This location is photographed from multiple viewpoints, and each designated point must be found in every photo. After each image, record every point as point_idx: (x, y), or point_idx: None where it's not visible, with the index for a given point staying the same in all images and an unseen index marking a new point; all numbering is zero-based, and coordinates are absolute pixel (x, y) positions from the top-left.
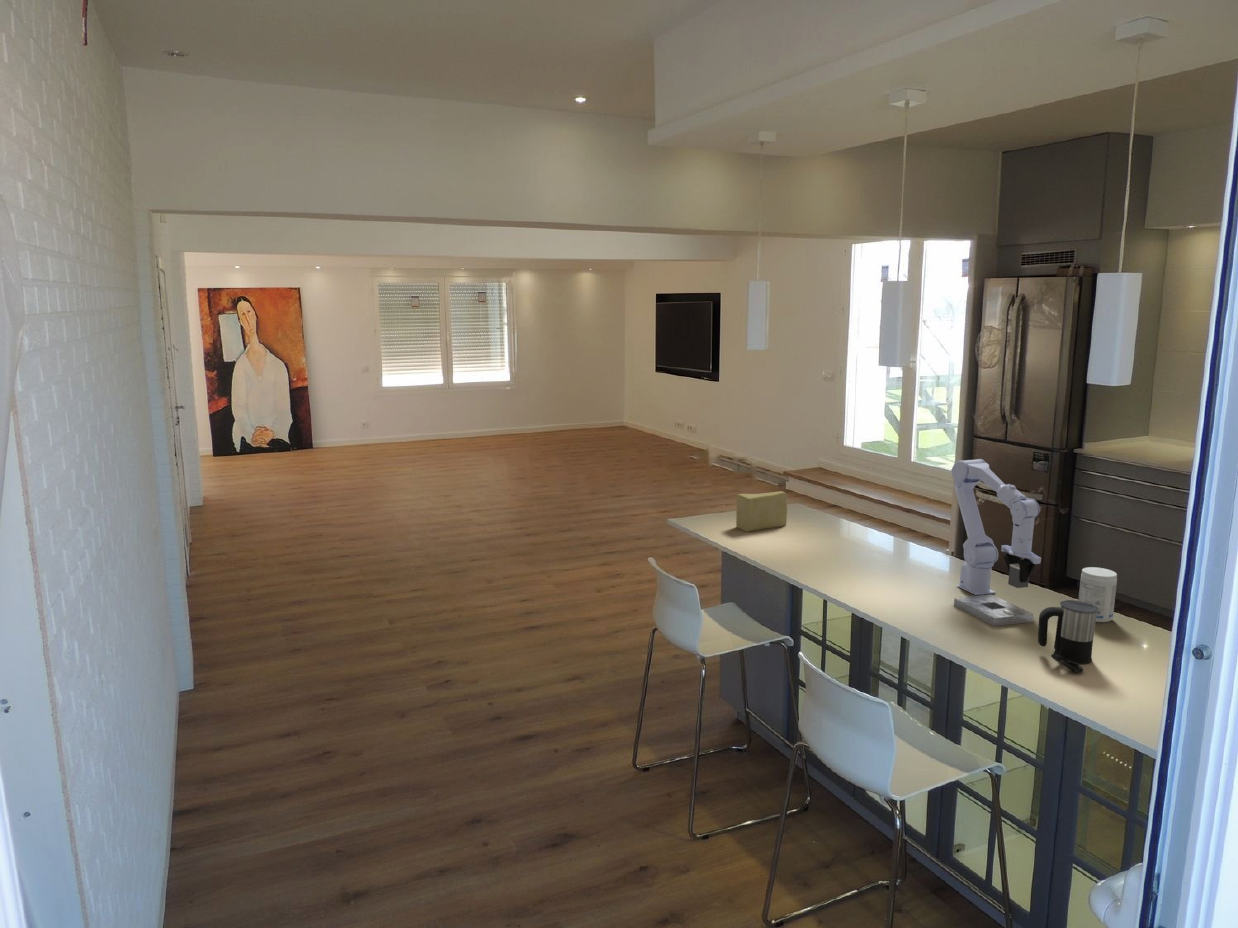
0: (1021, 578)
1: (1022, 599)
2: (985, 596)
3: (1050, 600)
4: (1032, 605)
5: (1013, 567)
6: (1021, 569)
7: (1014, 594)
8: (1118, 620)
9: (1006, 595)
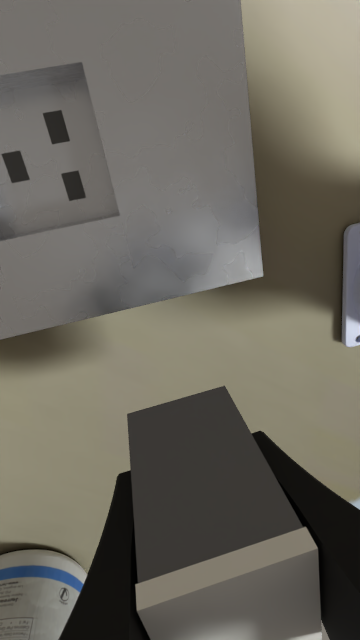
0: (114, 501)
1: (250, 422)
2: (231, 212)
3: None
4: None
5: (243, 544)
6: (98, 612)
7: (311, 415)
8: None
9: (309, 379)
